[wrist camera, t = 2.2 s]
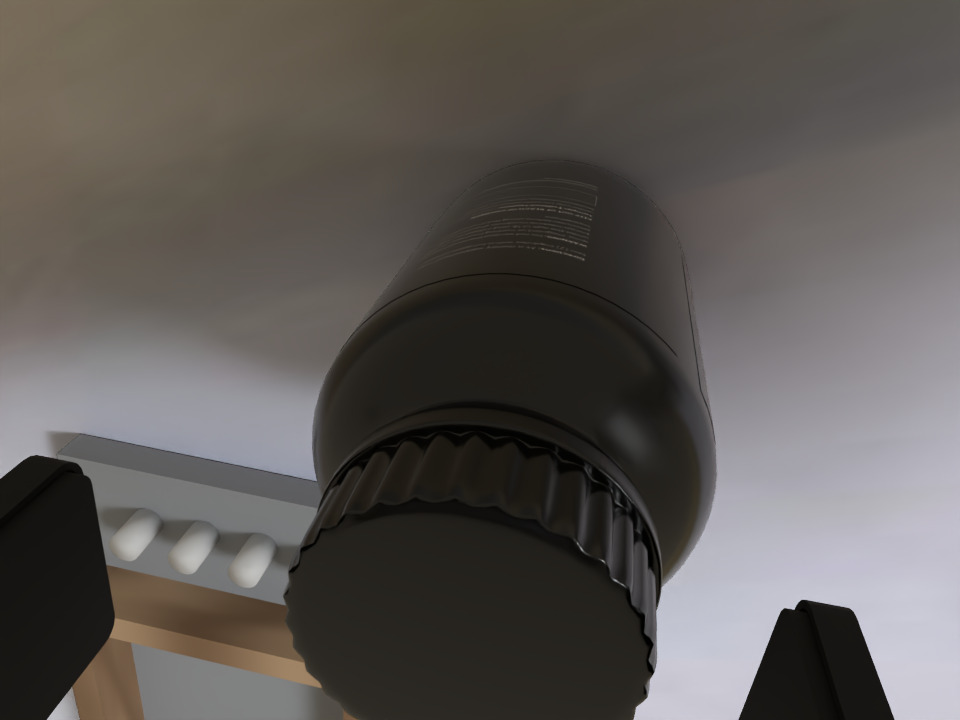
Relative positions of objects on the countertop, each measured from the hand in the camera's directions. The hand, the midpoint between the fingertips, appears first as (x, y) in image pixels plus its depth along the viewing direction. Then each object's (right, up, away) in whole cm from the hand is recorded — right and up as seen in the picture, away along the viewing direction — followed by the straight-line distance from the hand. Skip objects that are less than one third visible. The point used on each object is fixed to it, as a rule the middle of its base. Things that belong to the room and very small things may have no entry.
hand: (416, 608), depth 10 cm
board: (-7, -8, +19) cm, 21 cm away
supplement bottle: (+3, +5, +10) cm, 11 cm away
